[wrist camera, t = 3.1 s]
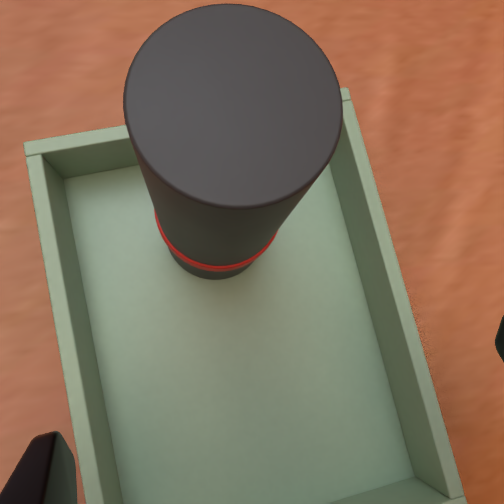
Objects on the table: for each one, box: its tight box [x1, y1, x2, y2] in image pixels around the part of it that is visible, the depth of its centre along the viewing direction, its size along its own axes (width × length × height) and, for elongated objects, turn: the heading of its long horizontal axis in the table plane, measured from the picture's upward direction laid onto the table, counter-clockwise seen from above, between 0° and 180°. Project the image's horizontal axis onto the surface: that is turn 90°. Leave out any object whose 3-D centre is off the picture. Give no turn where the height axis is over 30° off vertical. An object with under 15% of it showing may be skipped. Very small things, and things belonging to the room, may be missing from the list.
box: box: [23, 87, 467, 504], centre depth 19 cm, size 17×13×4 cm
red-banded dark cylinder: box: [123, 4, 343, 280], centre depth 15 cm, size 5×5×12 cm
